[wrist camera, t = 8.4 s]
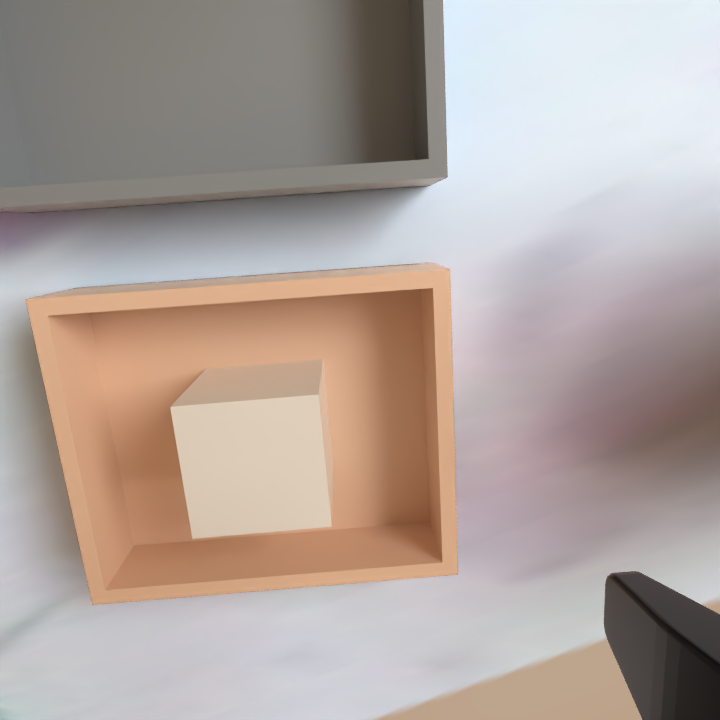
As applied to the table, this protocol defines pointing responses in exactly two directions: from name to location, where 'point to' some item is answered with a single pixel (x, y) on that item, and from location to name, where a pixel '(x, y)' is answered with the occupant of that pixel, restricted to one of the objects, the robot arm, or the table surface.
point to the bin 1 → (216, 100)
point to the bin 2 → (242, 348)
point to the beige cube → (255, 449)
